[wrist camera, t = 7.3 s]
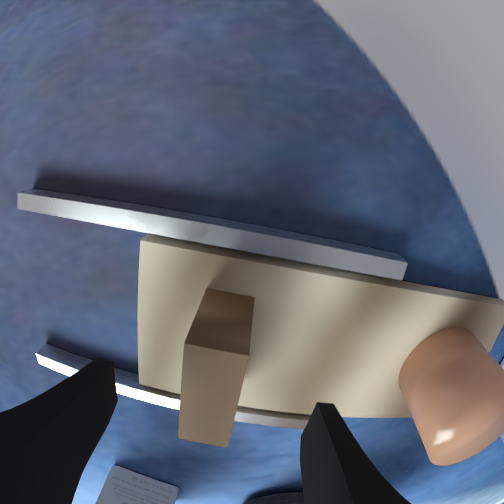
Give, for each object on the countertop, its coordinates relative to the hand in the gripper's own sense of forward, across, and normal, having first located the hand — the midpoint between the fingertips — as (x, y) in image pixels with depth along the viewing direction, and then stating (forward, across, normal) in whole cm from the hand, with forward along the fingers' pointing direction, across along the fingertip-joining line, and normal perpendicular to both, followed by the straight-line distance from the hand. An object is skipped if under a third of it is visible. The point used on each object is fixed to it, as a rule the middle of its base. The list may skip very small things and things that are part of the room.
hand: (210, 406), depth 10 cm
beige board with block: (+5, -5, 0) cm, 7 cm away
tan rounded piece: (+4, -11, 0) cm, 12 cm away
